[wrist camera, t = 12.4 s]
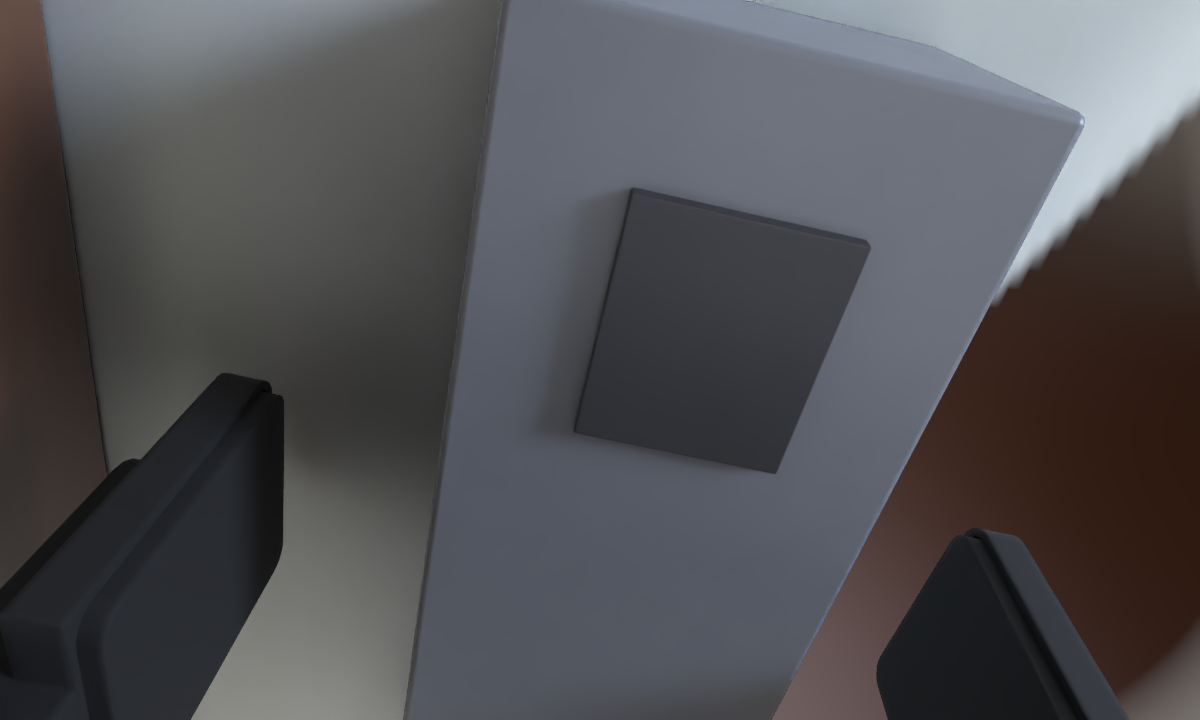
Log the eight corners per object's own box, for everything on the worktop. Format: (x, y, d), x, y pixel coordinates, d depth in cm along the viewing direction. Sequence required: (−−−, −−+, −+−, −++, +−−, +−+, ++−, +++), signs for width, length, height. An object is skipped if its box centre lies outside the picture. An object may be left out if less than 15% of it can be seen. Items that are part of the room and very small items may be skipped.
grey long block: (552, -48, 9) (499, -25, 5) (939, 48, 9) (1105, 122, 6) (428, 722, 15) (372, 929, 12) (645, 761, 16) (645, 973, 13)
